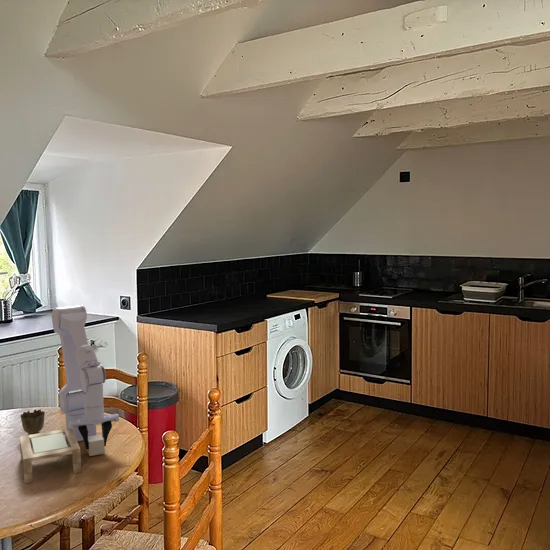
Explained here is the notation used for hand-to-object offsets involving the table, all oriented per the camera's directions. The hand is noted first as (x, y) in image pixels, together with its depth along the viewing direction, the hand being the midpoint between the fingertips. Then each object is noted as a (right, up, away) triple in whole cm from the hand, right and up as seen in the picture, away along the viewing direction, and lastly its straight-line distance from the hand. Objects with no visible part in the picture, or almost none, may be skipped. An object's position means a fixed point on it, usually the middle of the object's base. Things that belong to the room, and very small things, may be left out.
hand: (95, 446), depth 177 cm
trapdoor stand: (-11, -3, -8) cm, 14 cm away
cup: (-25, -1, +14) cm, 29 cm away
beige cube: (0, -2, 0) cm, 2 cm away
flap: (-11, +1, -8) cm, 13 cm away
